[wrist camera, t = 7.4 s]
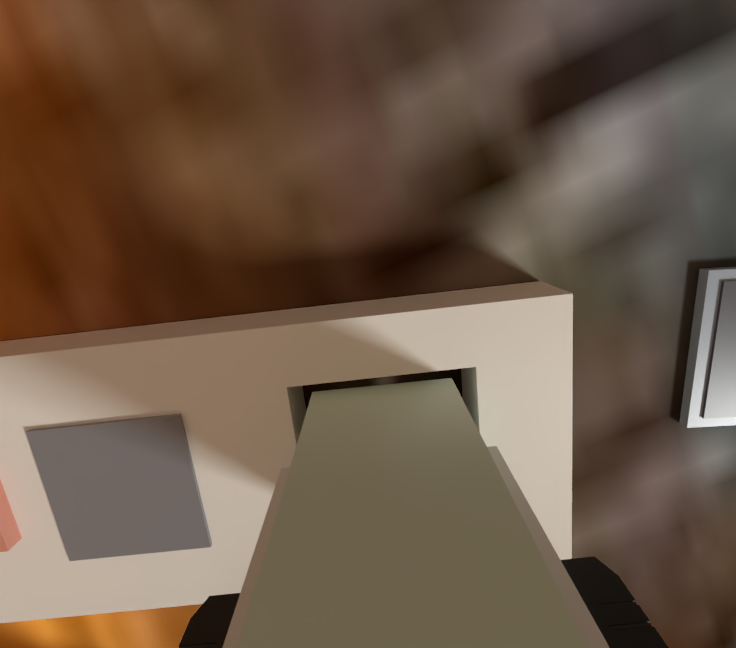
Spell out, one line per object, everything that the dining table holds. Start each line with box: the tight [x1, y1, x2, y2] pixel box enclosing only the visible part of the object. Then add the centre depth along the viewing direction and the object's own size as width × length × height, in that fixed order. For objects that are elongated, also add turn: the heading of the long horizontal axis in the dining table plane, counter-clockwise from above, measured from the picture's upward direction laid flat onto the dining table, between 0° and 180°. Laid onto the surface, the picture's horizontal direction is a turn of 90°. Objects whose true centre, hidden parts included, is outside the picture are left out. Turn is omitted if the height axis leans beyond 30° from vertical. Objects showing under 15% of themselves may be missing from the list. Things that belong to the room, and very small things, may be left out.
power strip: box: [0, 281, 573, 623], centre depth 15 cm, size 10×22×3 cm, turn 96°
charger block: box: [237, 378, 588, 648], centre depth 9 cm, size 4×4×10 cm
